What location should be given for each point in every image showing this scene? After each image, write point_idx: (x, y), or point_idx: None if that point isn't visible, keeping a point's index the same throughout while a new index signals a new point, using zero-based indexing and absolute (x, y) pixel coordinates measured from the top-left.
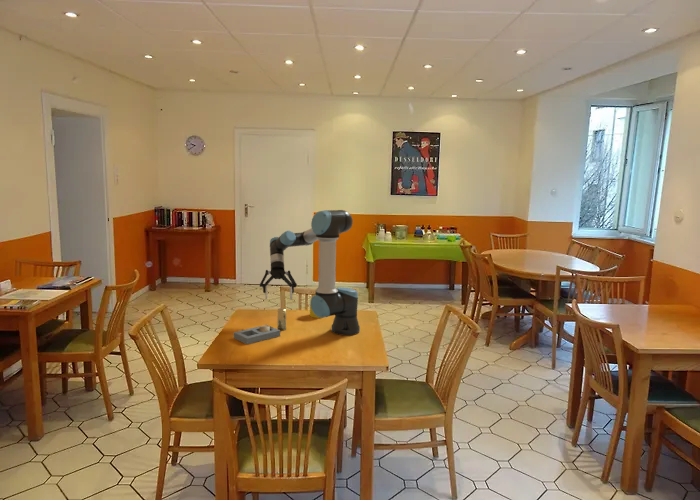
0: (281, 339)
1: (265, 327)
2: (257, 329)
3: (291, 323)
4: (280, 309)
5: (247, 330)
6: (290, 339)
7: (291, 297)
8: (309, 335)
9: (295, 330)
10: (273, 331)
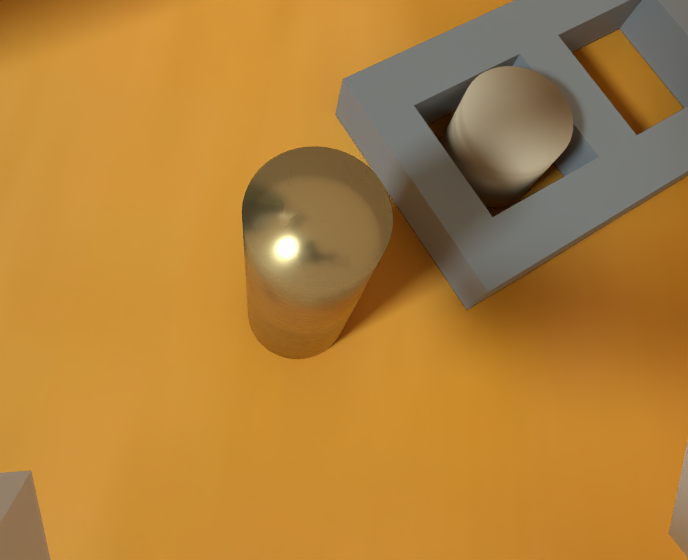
0: (334, 29)
1: (508, 96)
2: (576, 171)
3: (131, 546)
4: (344, 215)
5: (673, 134)
6: (251, 13)
7: (19, 474)
8: (33, 77)
9: (144, 254)
10: (416, 60)
